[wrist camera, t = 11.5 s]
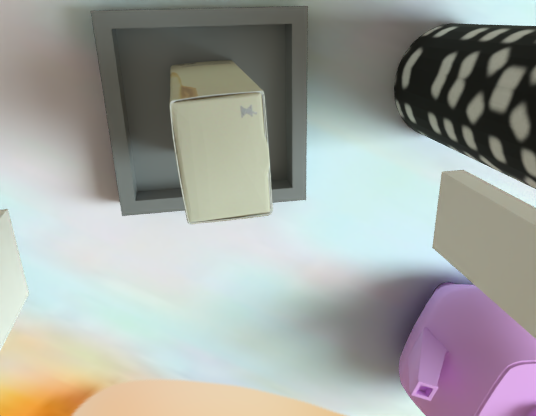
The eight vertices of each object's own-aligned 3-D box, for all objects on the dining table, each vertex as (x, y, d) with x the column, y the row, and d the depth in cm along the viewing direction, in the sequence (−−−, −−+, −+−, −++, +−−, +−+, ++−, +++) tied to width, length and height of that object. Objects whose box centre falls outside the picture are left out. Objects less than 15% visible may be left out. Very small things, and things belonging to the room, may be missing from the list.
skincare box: (168, 64, 31) (164, 92, 20) (233, 58, 32) (265, 81, 20) (182, 158, 34) (185, 229, 22) (242, 151, 34) (274, 216, 23)
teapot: (566, 292, 46) (698, 385, 34) (506, 391, 50) (606, 505, 38) (391, 247, 40) (478, 340, 29) (338, 363, 44) (396, 486, 33)
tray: (125, 202, 35) (122, 215, 32) (97, 11, 30) (90, 10, 27) (297, 188, 37) (305, 199, 34) (298, 6, 32) (307, 6, 29)
